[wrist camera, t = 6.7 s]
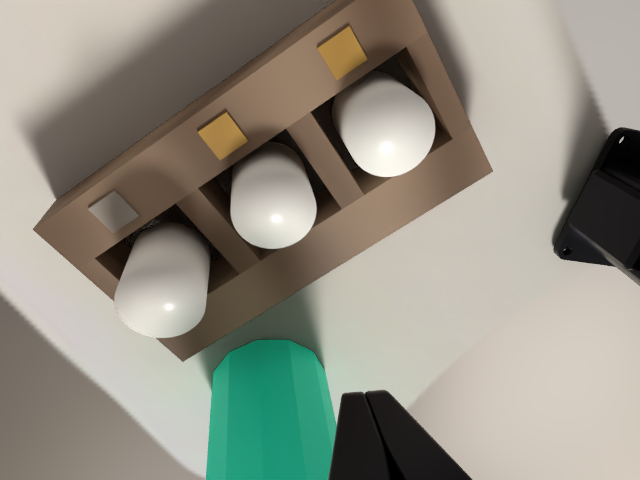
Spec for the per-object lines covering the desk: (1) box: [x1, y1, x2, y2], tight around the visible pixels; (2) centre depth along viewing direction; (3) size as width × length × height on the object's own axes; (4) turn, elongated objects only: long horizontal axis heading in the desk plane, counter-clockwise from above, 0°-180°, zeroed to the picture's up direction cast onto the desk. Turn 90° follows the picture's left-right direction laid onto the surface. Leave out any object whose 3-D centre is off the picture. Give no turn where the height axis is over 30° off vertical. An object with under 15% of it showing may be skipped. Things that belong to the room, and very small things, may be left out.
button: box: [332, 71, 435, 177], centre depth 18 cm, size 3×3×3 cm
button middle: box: [230, 142, 317, 249], centre depth 18 cm, size 3×3×3 cm
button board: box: [33, 0, 493, 361], centre depth 19 cm, size 15×8×3 cm, turn 122°
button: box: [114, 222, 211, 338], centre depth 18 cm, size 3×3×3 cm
